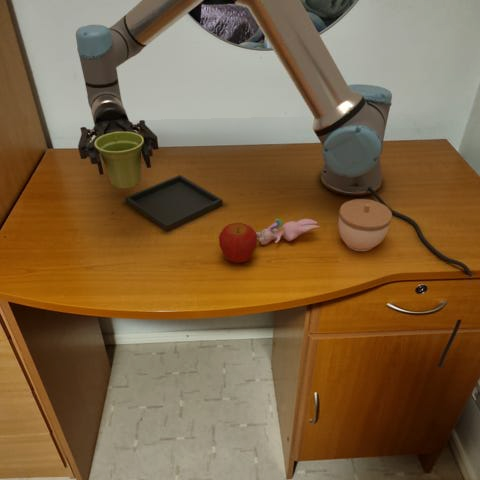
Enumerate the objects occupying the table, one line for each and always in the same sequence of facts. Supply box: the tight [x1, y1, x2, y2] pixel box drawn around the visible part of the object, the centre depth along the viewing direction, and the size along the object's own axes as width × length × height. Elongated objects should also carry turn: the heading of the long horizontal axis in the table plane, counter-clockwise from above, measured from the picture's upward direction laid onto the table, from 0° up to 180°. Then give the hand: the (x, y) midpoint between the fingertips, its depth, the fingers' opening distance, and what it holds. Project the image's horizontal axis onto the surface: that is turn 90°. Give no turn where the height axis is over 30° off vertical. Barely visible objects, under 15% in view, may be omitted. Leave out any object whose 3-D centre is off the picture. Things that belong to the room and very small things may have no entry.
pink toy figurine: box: [255, 218, 321, 246], centre depth 104 cm, size 6×6×15 cm
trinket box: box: [337, 198, 393, 252], centre depth 101 cm, size 11×11×9 cm
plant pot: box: [94, 132, 144, 189], centre depth 96 cm, size 9×9×9 cm
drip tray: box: [124, 174, 224, 233], centre depth 115 cm, size 17×17×2 cm
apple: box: [218, 222, 258, 264], centre depth 98 cm, size 8×8×8 cm
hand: (124, 164), depth 92 cm, fingers closed on plant pot, 8 cm apart
